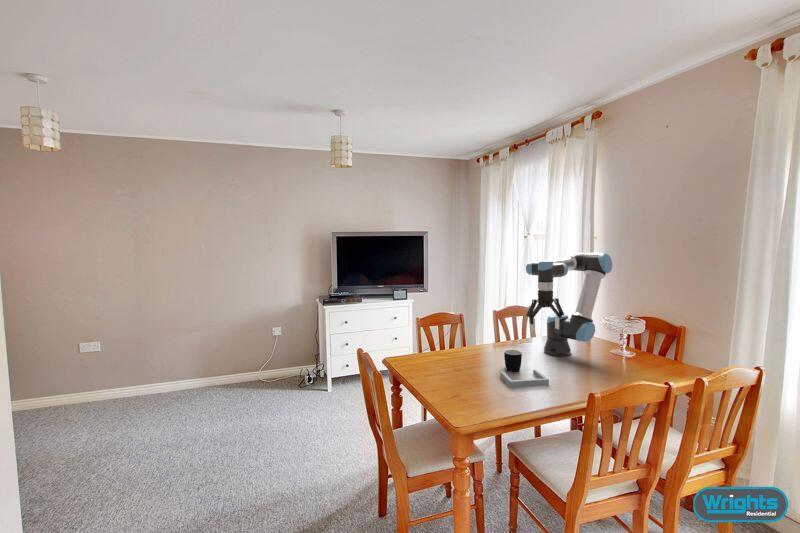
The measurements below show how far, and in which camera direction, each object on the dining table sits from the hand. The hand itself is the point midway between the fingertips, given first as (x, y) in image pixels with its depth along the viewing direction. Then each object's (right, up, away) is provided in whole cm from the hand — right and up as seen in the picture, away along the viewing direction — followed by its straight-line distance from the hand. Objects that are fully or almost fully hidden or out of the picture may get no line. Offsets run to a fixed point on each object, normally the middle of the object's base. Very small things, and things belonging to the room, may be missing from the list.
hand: (545, 329), depth 202 cm
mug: (-17, -22, +3) cm, 28 cm away
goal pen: (-16, -23, -14) cm, 32 cm away
